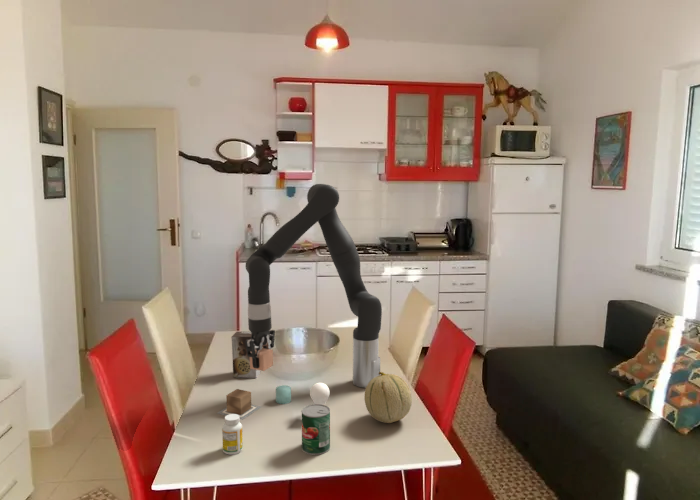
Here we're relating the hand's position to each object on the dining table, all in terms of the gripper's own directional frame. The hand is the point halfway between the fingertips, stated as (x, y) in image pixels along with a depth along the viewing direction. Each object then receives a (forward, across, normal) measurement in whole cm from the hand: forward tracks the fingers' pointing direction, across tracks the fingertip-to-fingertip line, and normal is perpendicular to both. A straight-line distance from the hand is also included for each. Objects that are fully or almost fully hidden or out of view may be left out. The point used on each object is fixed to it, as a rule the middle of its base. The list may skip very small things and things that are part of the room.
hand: (261, 364), depth 175 cm
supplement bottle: (+12, -31, -12) cm, 36 cm away
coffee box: (+12, +16, +18) cm, 27 cm away
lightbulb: (+13, -3, -24) cm, 27 cm away
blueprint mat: (+12, -11, +1) cm, 17 cm away
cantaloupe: (+13, +4, -44) cm, 46 cm away
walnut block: (+11, -11, +1) cm, 16 cm away
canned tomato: (+12, -20, -32) cm, 40 cm away
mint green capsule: (+12, +1, -8) cm, 15 cm away
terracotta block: (+1, 0, 0) cm, 1 cm away
